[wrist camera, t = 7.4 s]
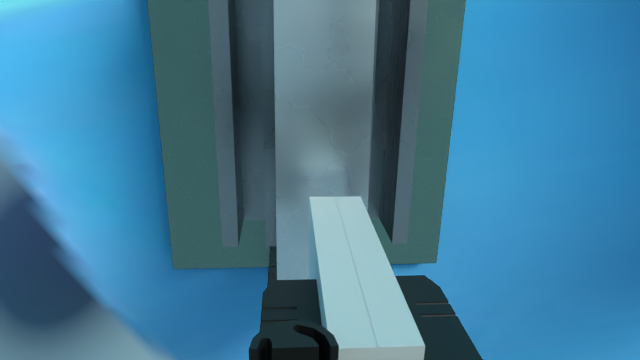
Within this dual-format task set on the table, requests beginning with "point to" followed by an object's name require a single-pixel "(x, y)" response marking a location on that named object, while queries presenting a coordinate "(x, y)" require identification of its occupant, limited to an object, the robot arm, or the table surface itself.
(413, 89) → the heatsink
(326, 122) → the strap
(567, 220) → the table surface
